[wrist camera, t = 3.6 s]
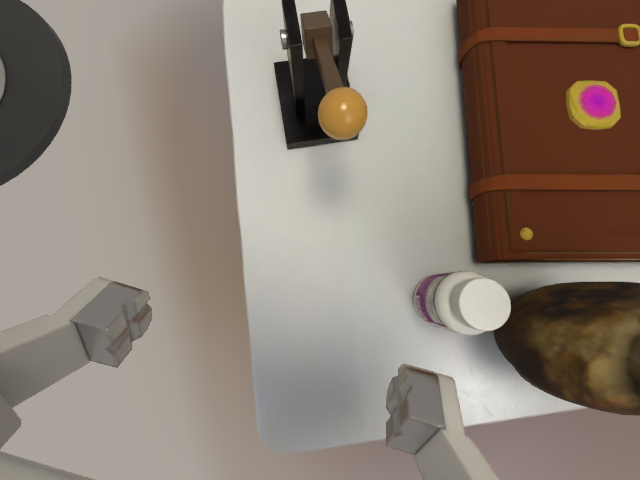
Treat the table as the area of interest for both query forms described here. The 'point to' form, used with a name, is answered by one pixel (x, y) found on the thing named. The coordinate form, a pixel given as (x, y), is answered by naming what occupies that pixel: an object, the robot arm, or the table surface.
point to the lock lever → (332, 81)
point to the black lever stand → (309, 76)
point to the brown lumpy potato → (578, 343)
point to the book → (553, 128)
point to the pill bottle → (462, 302)
